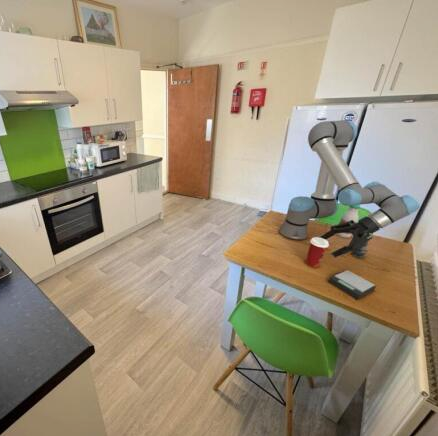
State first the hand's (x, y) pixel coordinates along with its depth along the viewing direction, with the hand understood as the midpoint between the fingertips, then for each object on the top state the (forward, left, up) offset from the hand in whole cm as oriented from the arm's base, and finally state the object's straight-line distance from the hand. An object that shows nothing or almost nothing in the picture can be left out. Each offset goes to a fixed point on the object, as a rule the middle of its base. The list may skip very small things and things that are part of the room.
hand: (325, 247), depth 116 cm
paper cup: (+3, -2, -11) cm, 11 cm away
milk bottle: (-40, -12, -11) cm, 43 cm away
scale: (+3, +16, -11) cm, 19 cm away
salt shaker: (-25, +4, -11) cm, 28 cm away
